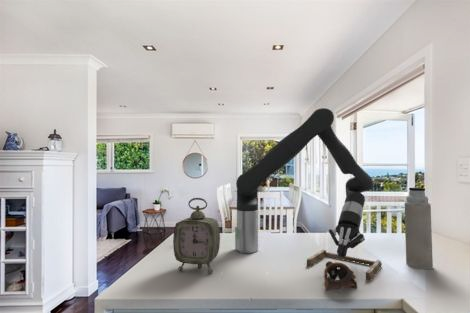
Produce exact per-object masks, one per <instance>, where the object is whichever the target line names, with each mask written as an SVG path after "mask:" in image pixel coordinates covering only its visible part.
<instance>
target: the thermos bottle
mask: <svg viewBox="0 0 470 313" xmlns="http://www.w3.org/2000/svg"><path fill="white" fill-rule="evenodd" d="M408 190H409V191H408V195H407V196H406V199H405V200H406V201H405V202H404V203H403V204H404V227H405V229H404V233H405V262H406V263H405V264H406V265H408V266H409V267H412V268H414V267H415V268H414V269H421V270H431V269H433V268H434V265H433V264H434V259H433V236H432V235H433V234H432V232H433V231H432V207H431V206H432V205H431V203H429V200H430V199H429V197H428V196H426V192H425V191H426V188H424V187H409V188H408Z"/></svg>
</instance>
